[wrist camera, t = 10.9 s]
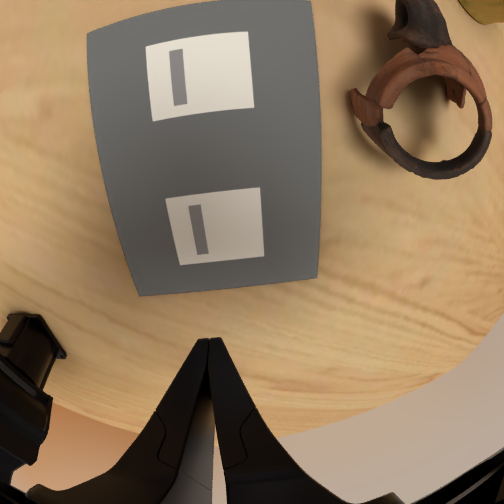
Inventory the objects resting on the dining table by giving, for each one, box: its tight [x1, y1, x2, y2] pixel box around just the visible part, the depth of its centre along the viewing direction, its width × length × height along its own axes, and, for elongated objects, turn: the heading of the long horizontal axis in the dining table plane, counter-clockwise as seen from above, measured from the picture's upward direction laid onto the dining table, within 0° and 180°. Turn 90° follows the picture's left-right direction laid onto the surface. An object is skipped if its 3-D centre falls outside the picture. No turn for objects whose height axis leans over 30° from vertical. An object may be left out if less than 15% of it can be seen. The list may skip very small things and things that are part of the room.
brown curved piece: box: [350, 0, 492, 180], centre depth 11 cm, size 12×10×8 cm
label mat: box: [87, 0, 321, 296], centre depth 15 cm, size 20×14×1 cm
